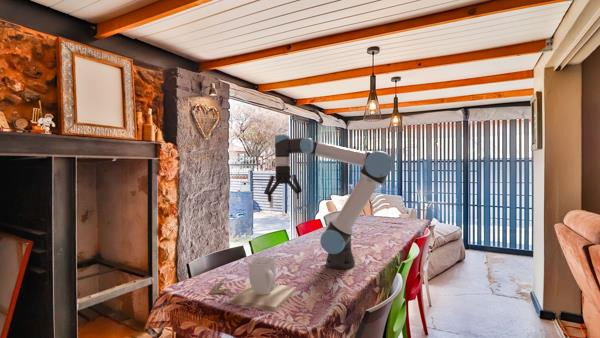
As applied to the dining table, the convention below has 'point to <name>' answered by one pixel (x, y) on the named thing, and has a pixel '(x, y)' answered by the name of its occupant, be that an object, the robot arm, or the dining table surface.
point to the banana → (216, 288)
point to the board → (263, 297)
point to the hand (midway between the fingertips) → (283, 207)
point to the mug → (262, 274)
